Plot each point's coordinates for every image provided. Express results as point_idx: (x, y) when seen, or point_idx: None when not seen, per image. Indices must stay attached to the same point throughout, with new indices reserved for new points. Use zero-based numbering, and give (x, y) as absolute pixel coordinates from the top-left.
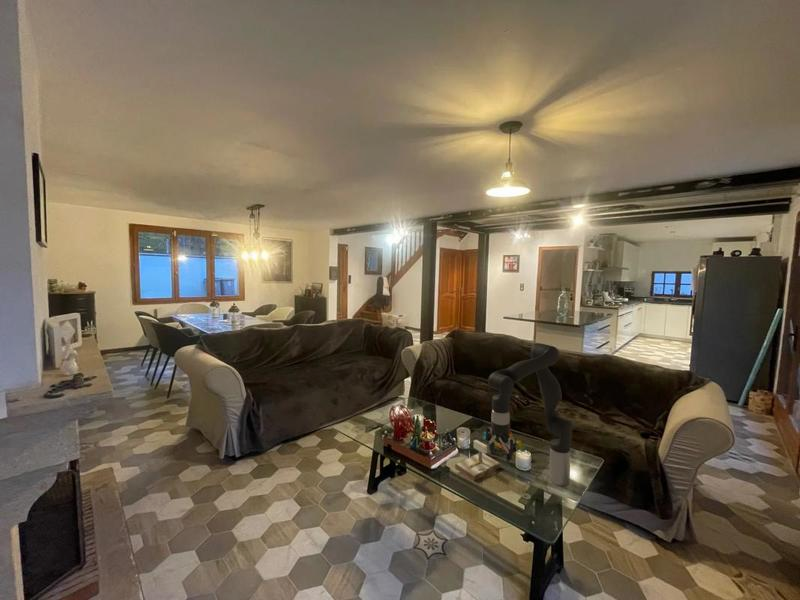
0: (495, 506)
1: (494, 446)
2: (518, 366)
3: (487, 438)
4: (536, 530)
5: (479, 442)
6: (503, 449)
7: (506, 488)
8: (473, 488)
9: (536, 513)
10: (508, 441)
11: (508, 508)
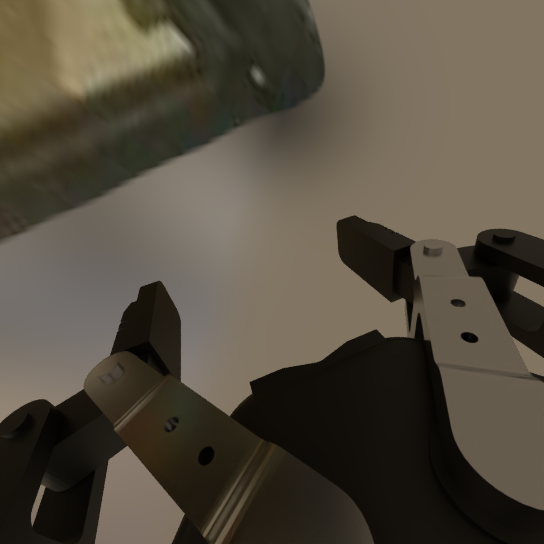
0: (149, 152)
1: (157, 316)
2: None
3: (93, 496)
4: (288, 97)
5: None
6: None
7: (26, 4)
8: (14, 172)
9: (228, 17)
10: (497, 337)
11: (171, 111)
